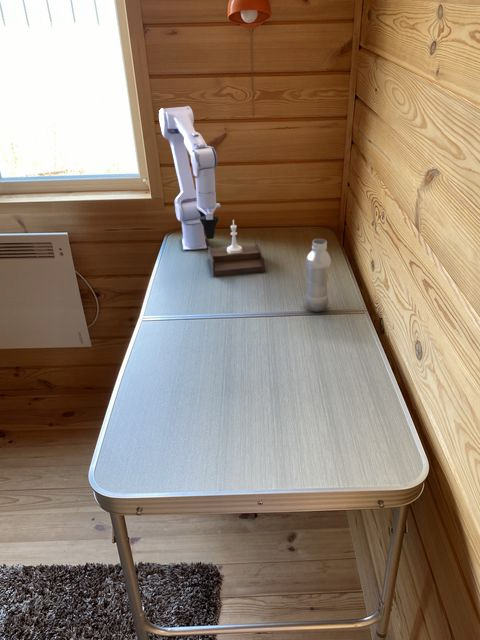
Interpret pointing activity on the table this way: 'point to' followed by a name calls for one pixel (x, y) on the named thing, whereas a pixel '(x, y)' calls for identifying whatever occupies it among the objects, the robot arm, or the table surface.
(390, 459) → the table surface
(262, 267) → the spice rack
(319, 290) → the plastic bottle
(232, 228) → the chess piece
